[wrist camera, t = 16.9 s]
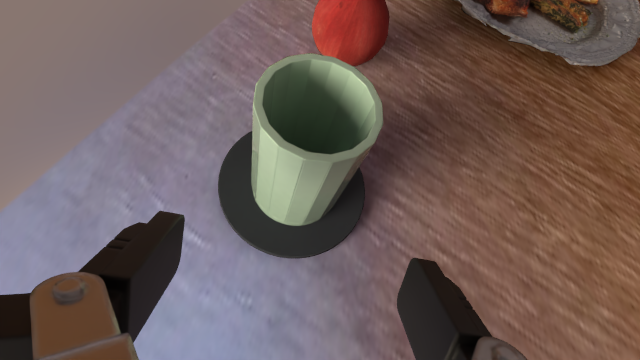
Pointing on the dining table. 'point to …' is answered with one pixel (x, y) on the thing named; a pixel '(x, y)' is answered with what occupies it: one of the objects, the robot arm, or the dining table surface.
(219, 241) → the dining table surface
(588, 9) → the food plate
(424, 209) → the dining table surface
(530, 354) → the dining table surface
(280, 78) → the cup
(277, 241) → the coaster
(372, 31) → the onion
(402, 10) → the dining table surface
